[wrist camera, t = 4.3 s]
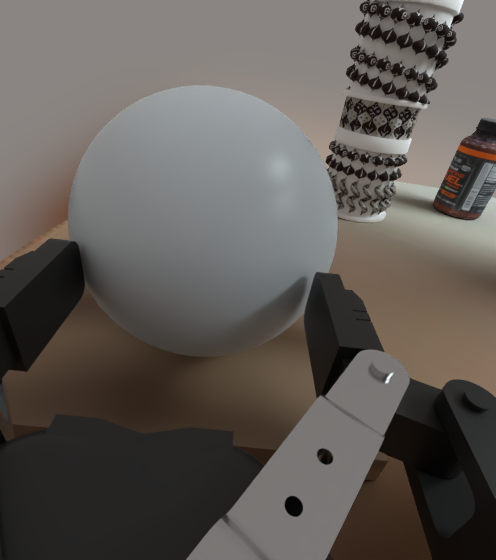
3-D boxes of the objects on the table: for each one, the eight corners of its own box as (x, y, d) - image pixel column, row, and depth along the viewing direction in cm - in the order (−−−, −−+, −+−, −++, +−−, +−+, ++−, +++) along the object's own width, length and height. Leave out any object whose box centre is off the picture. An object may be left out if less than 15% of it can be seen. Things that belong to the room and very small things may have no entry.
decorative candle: (321, 189, 46) (386, -65, 32) (390, 207, 43) (492, -61, 30) (303, 209, 38) (377, -109, 25) (385, 231, 36) (517, -108, 22)
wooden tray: (375, 480, 14) (388, 461, 13) (-34, 441, 13) (-49, 418, 12) (301, 214, 37) (304, 201, 36) (155, 195, 36) (155, 181, 35)
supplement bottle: (422, 202, 47) (460, 113, 41) (457, 204, 48) (500, 119, 42) (451, 220, 42) (499, 122, 36) (489, 222, 43) (542, 128, 37)
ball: (217, 253, 24) (234, 78, 18) (345, 341, 18) (432, 119, 12) (53, 305, 17) (-7, 52, 11) (168, 474, 11) (169, 115, 5)
